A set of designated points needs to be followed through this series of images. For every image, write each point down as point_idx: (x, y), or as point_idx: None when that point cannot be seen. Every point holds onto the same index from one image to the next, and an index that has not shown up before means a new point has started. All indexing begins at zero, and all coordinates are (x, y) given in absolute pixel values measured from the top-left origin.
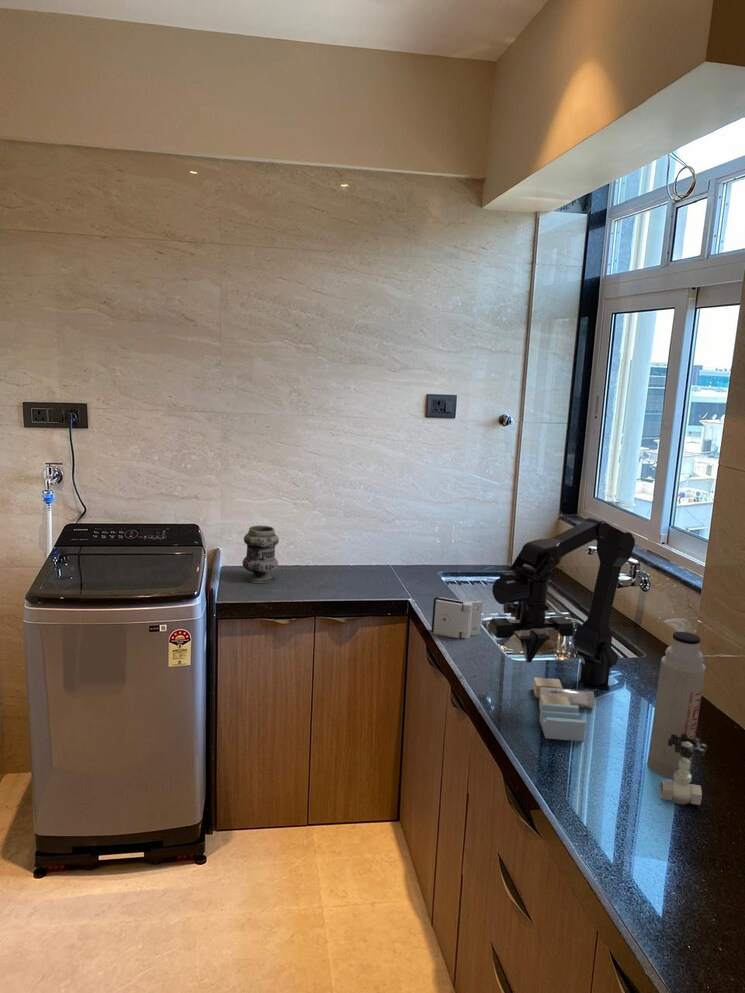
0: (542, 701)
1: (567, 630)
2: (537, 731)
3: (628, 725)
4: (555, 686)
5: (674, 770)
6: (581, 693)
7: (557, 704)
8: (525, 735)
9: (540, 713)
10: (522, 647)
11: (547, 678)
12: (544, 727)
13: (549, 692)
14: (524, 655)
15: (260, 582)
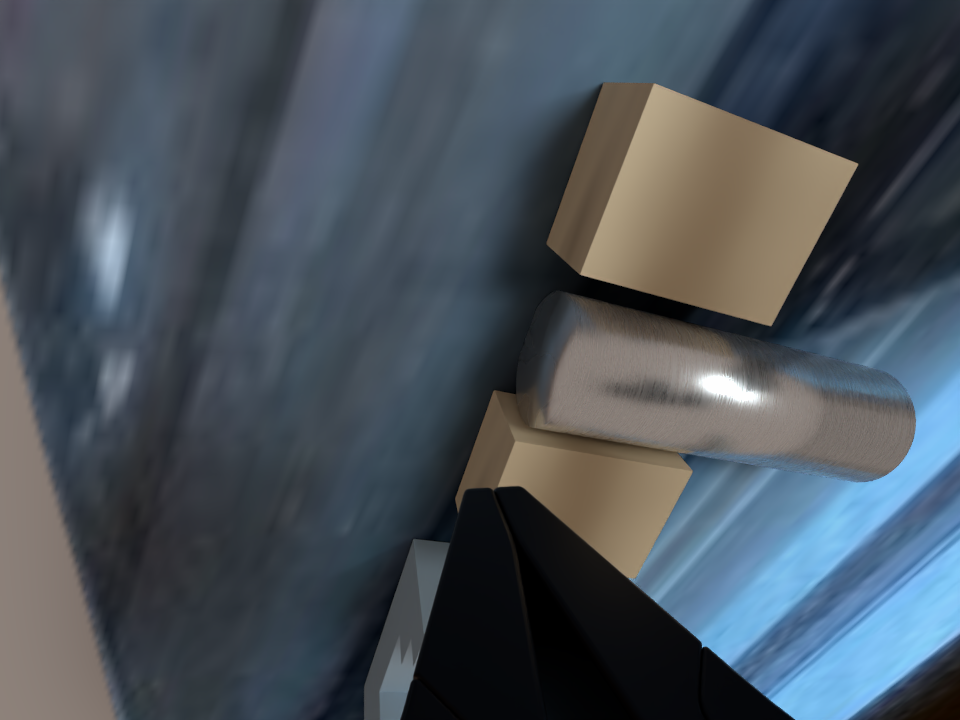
0: None
1: None
2: (348, 636)
3: (839, 569)
4: (727, 305)
5: None
6: (814, 464)
7: None
8: (262, 671)
9: (414, 584)
10: (412, 688)
11: (769, 131)
12: (376, 684)
13: (599, 433)
14: (448, 549)
15: None
